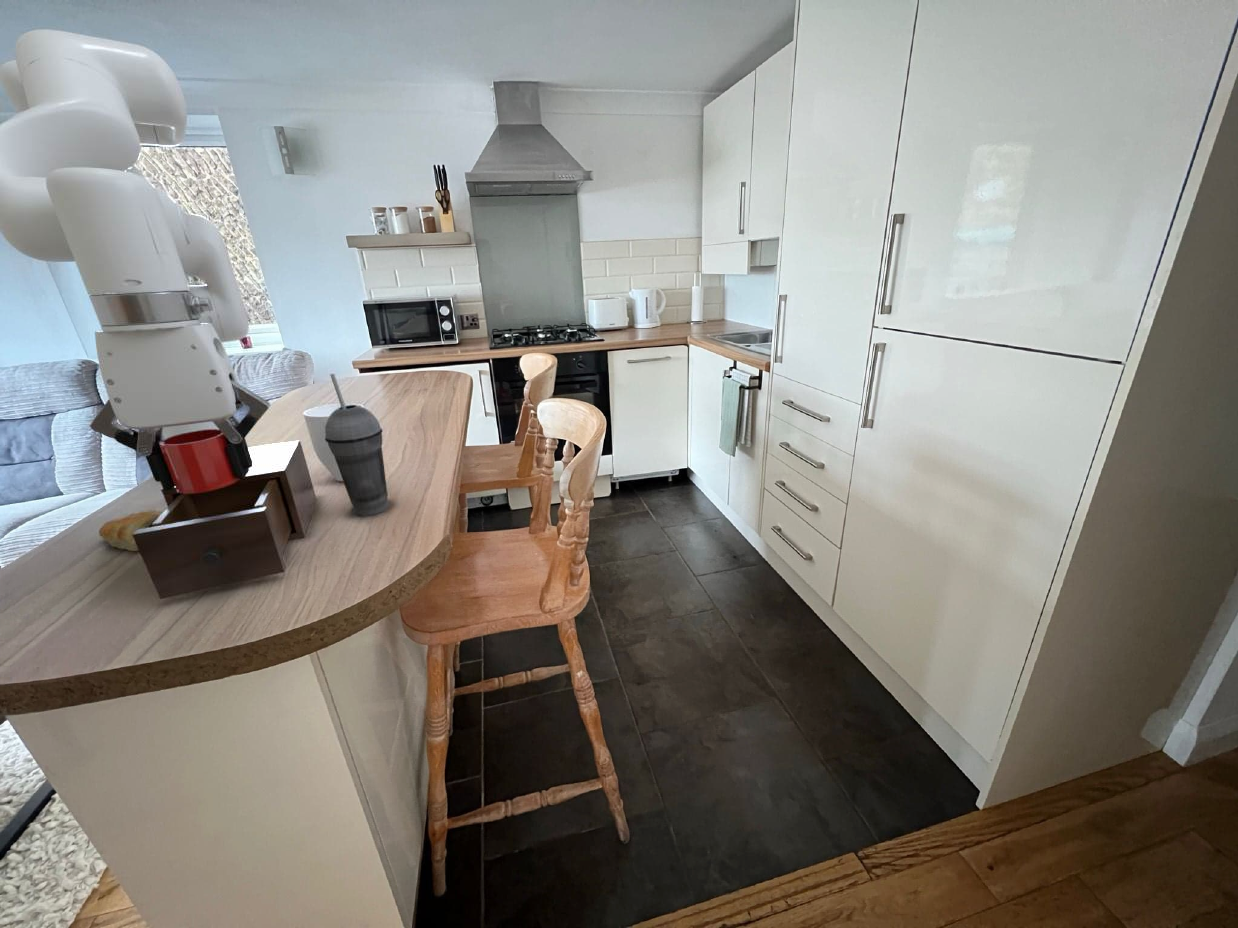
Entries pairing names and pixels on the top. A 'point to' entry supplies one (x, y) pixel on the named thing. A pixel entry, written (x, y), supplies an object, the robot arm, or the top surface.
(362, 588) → the top surface
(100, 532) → the pastry
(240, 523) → the drawer
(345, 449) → the beverage cup
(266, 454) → the cabinet
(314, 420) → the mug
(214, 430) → the red cup
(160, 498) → the top surface
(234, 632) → the top surface
